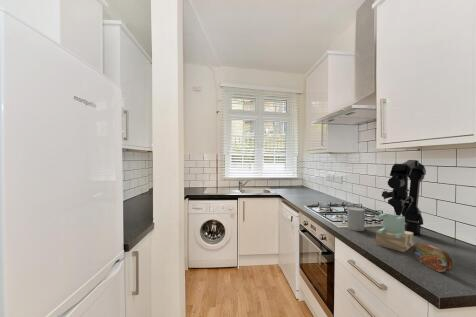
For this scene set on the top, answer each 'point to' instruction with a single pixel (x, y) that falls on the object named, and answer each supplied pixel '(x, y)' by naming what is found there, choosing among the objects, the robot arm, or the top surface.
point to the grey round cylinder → (356, 218)
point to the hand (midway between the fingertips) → (400, 216)
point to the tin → (432, 257)
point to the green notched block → (393, 224)
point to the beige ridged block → (395, 240)
